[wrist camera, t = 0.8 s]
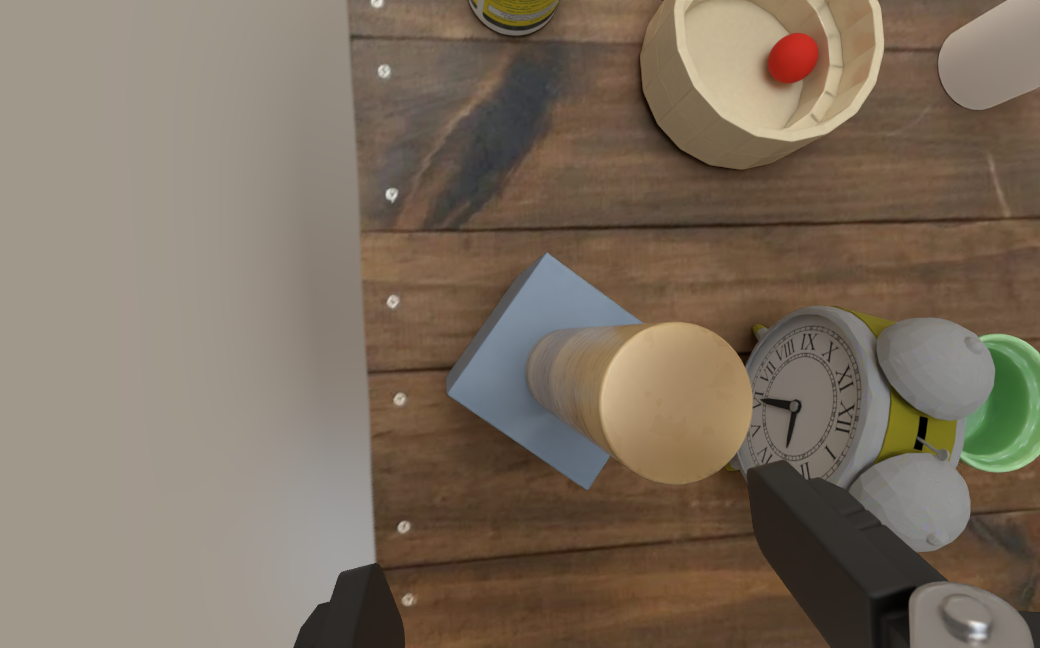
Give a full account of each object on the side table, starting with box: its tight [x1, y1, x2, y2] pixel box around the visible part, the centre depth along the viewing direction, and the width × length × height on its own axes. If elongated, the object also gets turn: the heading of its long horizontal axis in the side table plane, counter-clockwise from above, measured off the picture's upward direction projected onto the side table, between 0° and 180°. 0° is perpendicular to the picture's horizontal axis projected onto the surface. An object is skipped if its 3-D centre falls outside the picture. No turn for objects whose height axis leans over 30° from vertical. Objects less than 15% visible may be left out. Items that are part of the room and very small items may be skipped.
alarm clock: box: [724, 305, 995, 552], centre depth 30 cm, size 12×7×15 cm, turn 167°
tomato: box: [768, 33, 818, 83], centre depth 36 cm, size 3×3×3 cm
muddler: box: [525, 322, 753, 485], centre depth 19 cm, size 4×4×12 cm
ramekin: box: [959, 334, 1040, 472], centre depth 37 cm, size 9×9×4 cm
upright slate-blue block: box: [446, 253, 644, 490], centre depth 30 cm, size 8×8×10 cm
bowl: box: [640, 0, 884, 170], centre depth 34 cm, size 13×13×6 cm
